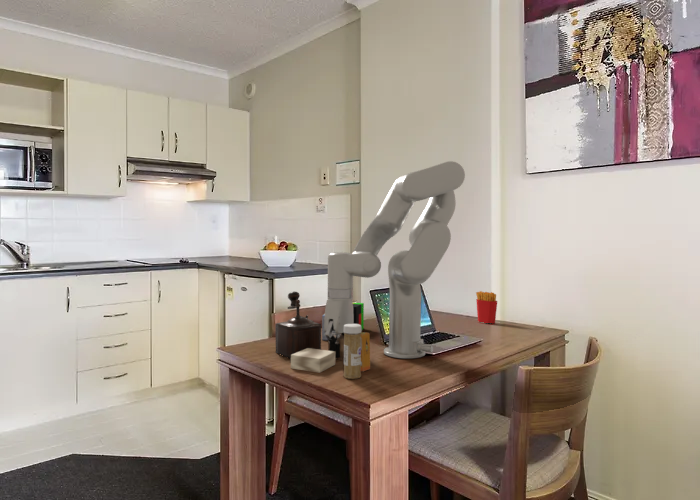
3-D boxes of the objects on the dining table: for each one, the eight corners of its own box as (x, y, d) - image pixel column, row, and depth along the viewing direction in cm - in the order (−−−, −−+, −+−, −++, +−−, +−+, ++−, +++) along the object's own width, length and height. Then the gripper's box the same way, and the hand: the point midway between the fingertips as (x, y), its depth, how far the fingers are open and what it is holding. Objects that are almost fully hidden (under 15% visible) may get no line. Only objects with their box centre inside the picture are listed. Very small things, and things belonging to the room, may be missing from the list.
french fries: (498, 323, 201) (499, 292, 200) (492, 325, 198) (493, 293, 198) (479, 320, 208) (479, 290, 207) (473, 321, 205) (473, 291, 204)
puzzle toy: (330, 332, 182) (330, 305, 181) (338, 327, 191) (339, 301, 191) (356, 334, 179) (356, 306, 178) (363, 328, 188) (363, 303, 188)
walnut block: (351, 356, 146) (351, 336, 146) (342, 360, 142) (342, 339, 142) (336, 354, 149) (337, 334, 149) (328, 357, 144) (328, 337, 144)
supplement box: (360, 367, 134) (360, 331, 134) (370, 369, 132) (370, 332, 132) (352, 369, 132) (353, 332, 131) (362, 372, 130) (363, 334, 129)
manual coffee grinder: (323, 354, 149) (324, 295, 148) (293, 360, 142) (293, 298, 141) (295, 344, 161) (295, 290, 160) (266, 349, 153) (266, 292, 153)
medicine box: (346, 338, 171) (346, 313, 171) (344, 341, 167) (344, 315, 166) (323, 337, 172) (323, 313, 171) (321, 340, 167) (321, 315, 167)
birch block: (335, 365, 137) (335, 351, 137) (319, 373, 129) (319, 358, 129) (307, 361, 141) (307, 347, 141) (290, 369, 133) (290, 354, 133)
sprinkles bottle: (359, 379, 123) (360, 326, 122) (341, 378, 124) (342, 326, 123) (362, 374, 127) (362, 323, 127) (344, 373, 128) (345, 322, 128)
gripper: (343, 290, 154) (343, 347, 155) (313, 296, 139) (313, 359, 140) (364, 292, 150) (364, 350, 151) (336, 298, 135) (335, 363, 136)
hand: (339, 354), depth 145 cm, fingers closed on walnut block, 5 cm apart
